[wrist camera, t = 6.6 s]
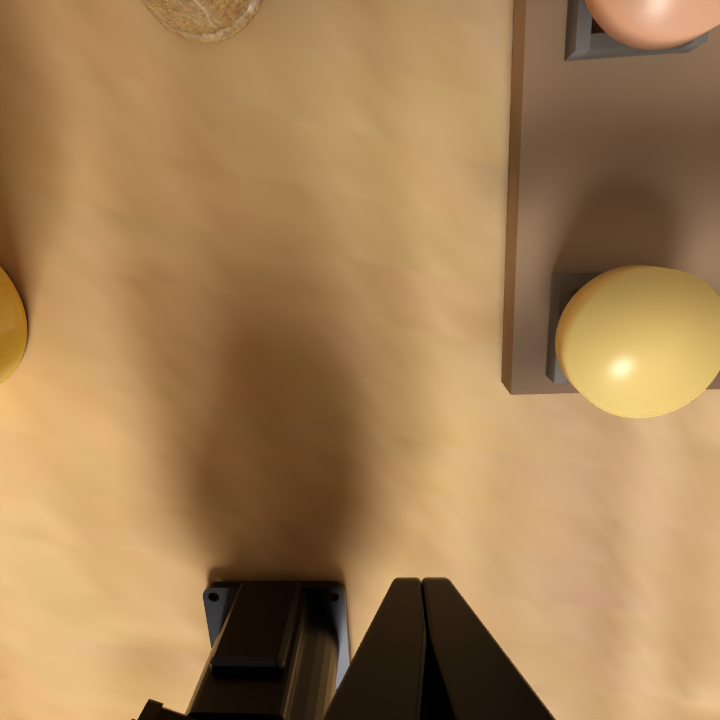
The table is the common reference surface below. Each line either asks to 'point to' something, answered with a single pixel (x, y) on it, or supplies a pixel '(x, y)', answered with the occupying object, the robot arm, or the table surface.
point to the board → (601, 172)
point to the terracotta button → (655, 21)
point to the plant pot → (11, 327)
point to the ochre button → (640, 340)
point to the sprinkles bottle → (203, 17)
